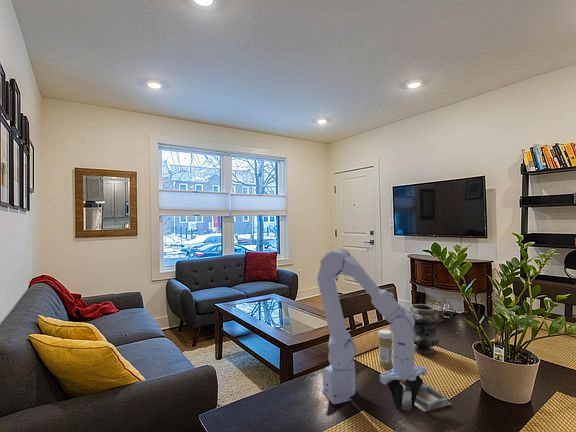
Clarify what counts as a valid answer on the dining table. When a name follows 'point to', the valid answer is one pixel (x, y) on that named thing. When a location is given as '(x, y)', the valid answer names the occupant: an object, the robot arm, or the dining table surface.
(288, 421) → the dining table surface
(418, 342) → the apothecary jar
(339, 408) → the dining table surface
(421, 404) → the board
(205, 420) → the dining table surface
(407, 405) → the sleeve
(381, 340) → the sprinkles bottle
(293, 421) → the dining table surface
